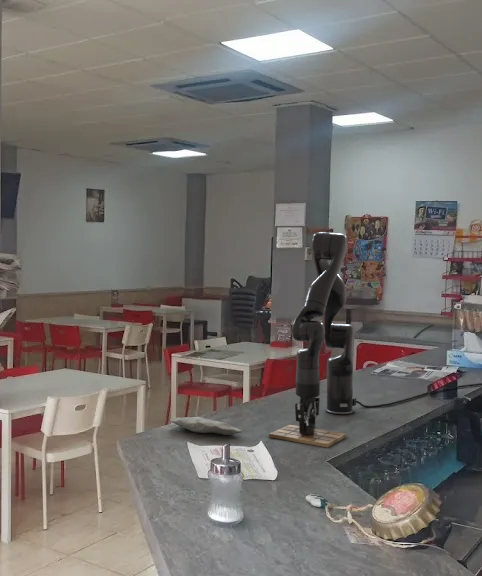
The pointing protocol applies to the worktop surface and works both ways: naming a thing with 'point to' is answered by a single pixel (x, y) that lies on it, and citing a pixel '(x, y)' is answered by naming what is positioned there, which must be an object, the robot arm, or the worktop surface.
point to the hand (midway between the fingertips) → (307, 431)
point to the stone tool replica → (205, 425)
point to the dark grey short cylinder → (310, 428)
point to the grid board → (308, 436)
